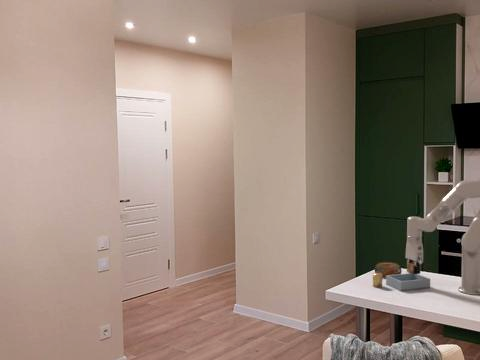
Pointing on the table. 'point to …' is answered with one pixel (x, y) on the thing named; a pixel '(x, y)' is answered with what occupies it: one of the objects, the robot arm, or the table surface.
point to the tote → (407, 282)
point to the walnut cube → (410, 268)
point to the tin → (388, 269)
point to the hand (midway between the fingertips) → (413, 271)
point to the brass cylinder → (377, 280)
